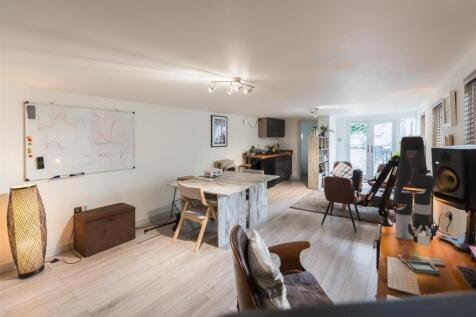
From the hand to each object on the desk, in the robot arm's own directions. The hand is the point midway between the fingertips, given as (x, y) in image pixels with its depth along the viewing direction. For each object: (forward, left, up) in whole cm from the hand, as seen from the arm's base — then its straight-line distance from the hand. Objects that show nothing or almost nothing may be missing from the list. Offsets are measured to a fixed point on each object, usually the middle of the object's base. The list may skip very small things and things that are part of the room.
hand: (421, 242), depth 123 cm
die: (0, 0, 0) cm, 1 cm away
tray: (+2, 0, -13) cm, 13 cm away
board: (-7, +3, -13) cm, 15 cm away
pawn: (-7, -5, -12) cm, 15 cm away
